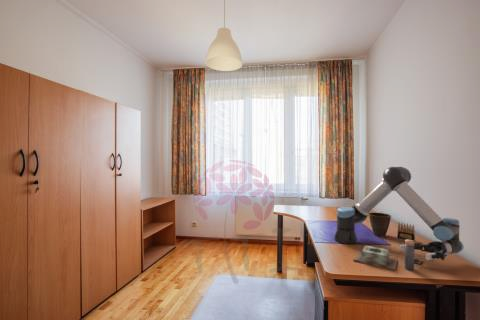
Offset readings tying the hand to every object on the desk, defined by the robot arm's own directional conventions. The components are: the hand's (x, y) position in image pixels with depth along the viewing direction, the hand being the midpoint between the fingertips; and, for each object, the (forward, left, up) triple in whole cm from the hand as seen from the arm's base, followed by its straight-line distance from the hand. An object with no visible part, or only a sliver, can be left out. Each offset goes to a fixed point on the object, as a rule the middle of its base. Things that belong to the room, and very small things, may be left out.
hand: (412, 252), depth 128 cm
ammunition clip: (-4, +60, -9) cm, 61 cm away
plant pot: (-21, +60, -9) cm, 65 cm away
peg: (-1, -1, -9) cm, 9 cm away
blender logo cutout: (0, +16, -10) cm, 19 cm away
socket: (-17, 0, -9) cm, 19 cm away
